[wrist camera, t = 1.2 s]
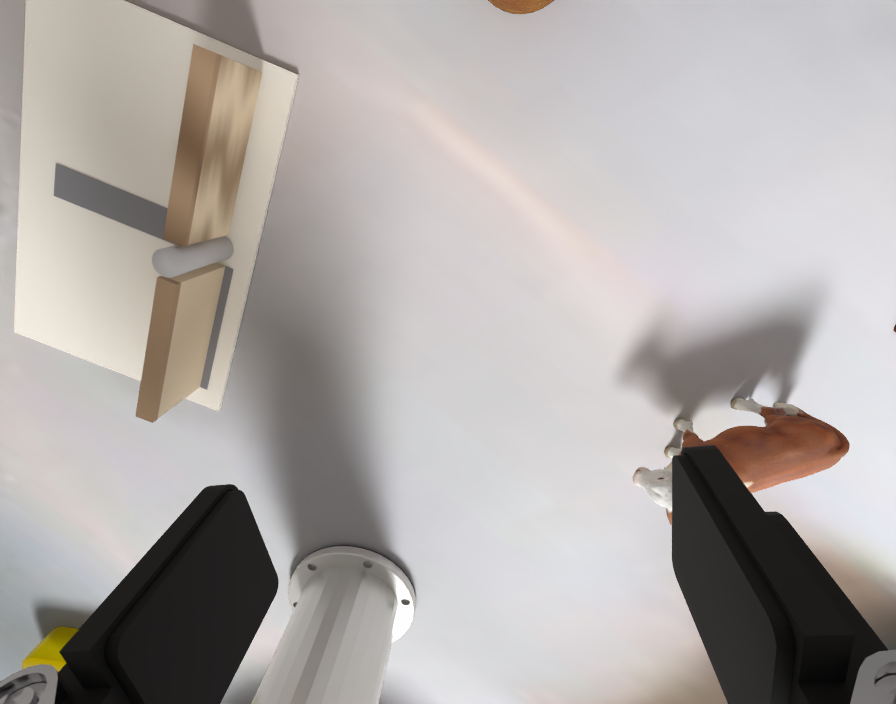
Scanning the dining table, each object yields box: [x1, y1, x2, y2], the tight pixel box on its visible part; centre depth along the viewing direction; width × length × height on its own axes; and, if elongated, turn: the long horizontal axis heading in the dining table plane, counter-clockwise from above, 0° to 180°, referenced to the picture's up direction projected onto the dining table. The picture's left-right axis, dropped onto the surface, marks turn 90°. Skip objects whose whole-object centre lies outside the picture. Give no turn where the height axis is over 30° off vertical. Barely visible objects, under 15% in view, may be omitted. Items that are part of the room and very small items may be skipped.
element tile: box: [22, 627, 79, 672], centre depth 54 cm, size 15×15×5 cm
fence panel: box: [163, 44, 262, 247], centre depth 30 cm, size 11×1×6 cm, turn 159°
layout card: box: [14, 0, 299, 423], centre depth 33 cm, size 27×18×7 cm, turn 159°
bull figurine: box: [633, 398, 849, 524], centre depth 34 cm, size 4×13×8 cm, turn 110°
